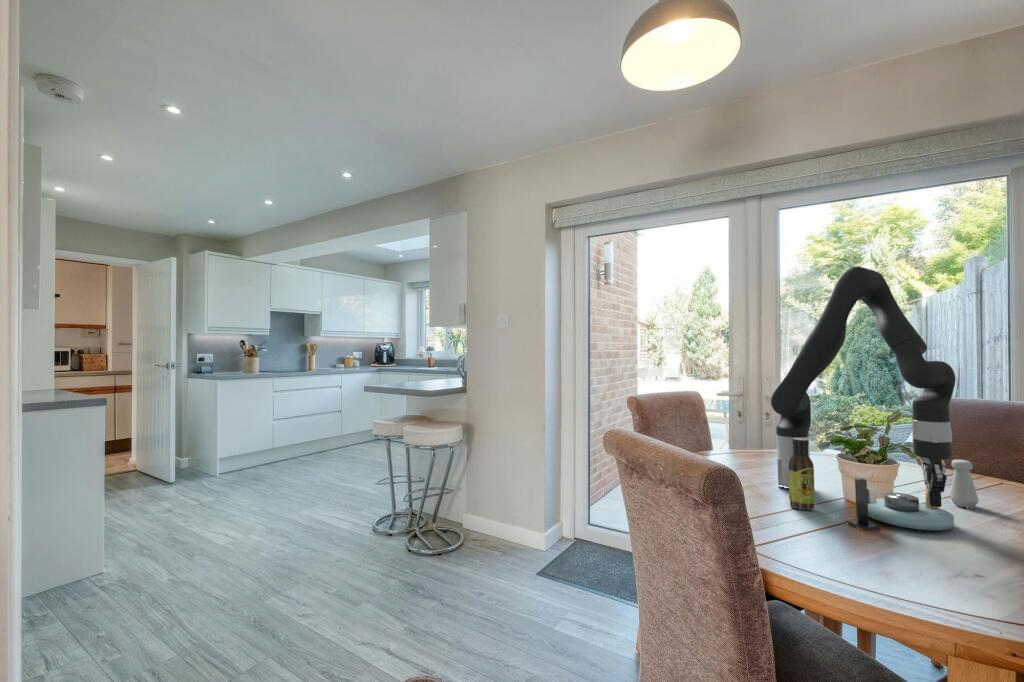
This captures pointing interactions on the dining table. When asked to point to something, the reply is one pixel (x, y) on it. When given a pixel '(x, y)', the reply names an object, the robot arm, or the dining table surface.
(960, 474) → the salt shaker
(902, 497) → the cover
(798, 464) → the sauce bottle
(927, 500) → the turntable
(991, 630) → the dining table surface
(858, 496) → the post
